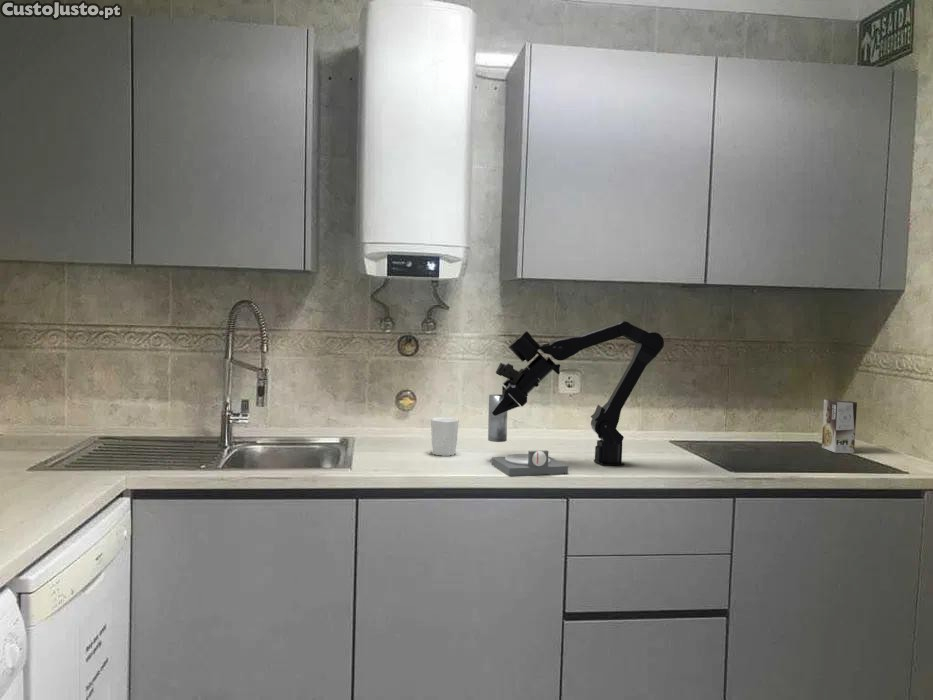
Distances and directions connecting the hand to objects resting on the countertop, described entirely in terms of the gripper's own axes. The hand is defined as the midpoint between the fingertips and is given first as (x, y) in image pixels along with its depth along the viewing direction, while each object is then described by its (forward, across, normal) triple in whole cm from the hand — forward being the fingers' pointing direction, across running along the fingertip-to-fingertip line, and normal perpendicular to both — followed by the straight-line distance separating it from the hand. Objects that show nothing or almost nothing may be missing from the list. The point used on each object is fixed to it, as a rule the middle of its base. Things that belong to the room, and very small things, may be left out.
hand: (492, 412), depth 201 cm
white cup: (+19, -7, 0) cm, 20 cm away
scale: (+3, +10, +16) cm, 19 cm away
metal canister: (+4, 0, +6) cm, 8 cm away
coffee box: (-68, -30, +89) cm, 116 cm away
